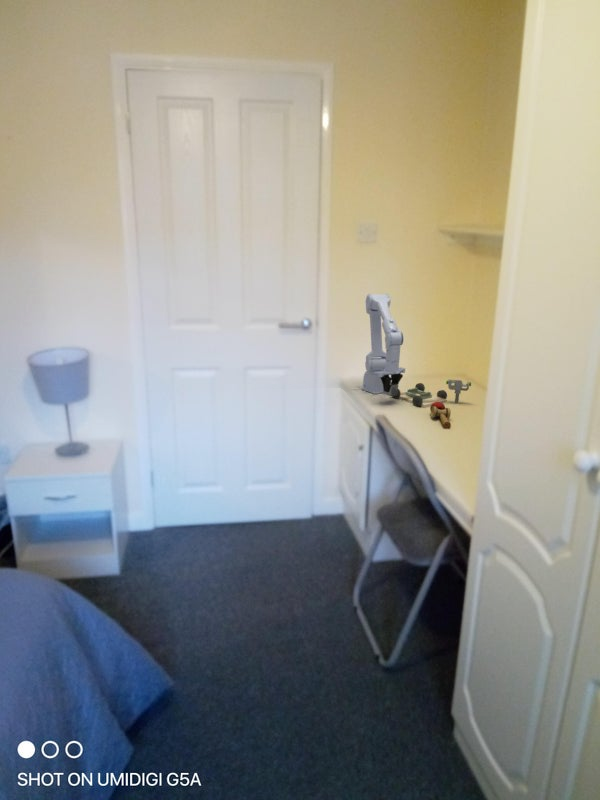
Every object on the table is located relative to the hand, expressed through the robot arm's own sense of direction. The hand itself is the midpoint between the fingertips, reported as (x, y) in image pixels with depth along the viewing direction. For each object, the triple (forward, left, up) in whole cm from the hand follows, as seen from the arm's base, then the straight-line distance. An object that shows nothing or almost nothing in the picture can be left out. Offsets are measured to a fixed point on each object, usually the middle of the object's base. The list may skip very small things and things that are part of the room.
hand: (390, 390), depth 255 cm
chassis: (+3, +15, -5) cm, 16 cm away
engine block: (0, 0, -2) cm, 2 cm away
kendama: (+28, +2, -6) cm, 28 cm away
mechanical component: (+16, +25, -6) cm, 30 cm away
